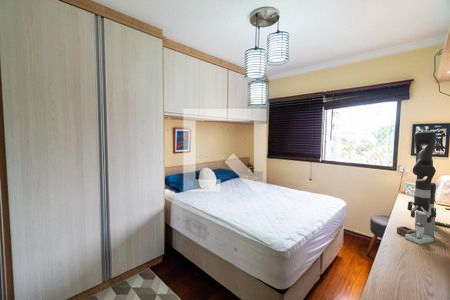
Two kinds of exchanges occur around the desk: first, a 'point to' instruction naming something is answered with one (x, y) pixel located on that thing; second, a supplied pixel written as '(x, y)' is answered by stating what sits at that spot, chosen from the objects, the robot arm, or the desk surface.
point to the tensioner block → (405, 230)
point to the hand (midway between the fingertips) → (420, 220)
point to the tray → (425, 240)
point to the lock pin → (419, 231)
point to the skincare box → (425, 223)
